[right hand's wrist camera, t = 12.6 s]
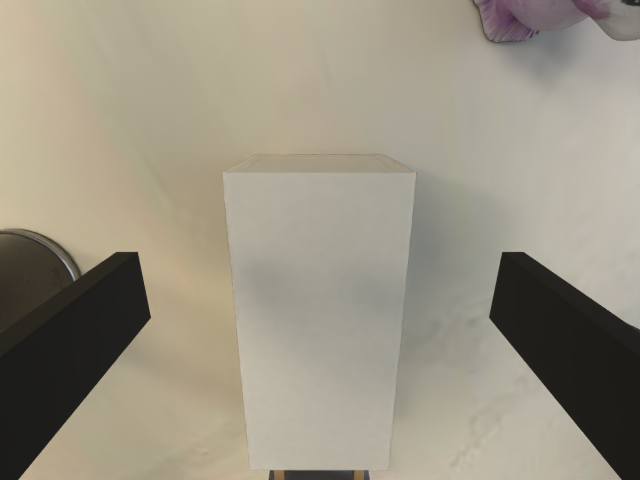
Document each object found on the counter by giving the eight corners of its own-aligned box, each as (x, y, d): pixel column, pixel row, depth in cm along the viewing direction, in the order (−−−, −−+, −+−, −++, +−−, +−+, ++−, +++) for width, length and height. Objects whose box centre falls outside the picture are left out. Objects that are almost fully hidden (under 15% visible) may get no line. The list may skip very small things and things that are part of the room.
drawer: (360, 482, 37) (369, 562, 31) (277, 482, 37) (268, 562, 31) (373, 261, 29) (390, 305, 22) (264, 261, 29) (248, 305, 22)
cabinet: (371, 380, 34) (388, 470, 25) (267, 380, 34) (249, 470, 25) (385, 154, 27) (416, 172, 18) (253, 154, 27) (221, 172, 18)
